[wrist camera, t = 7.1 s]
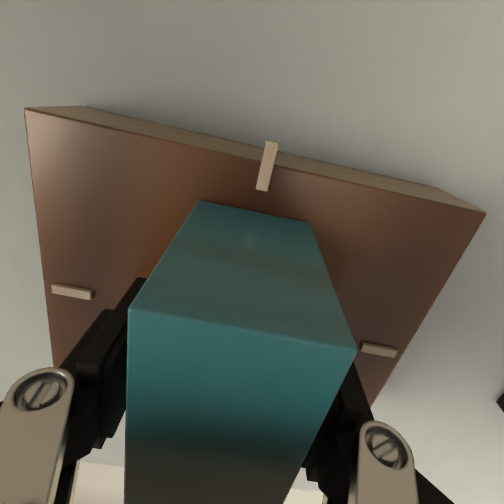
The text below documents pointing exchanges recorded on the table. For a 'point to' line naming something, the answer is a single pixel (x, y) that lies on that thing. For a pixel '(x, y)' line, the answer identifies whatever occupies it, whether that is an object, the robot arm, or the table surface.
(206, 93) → the table surface
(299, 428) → the teal rectangular block
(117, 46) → the table surface
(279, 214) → the base
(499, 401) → the button box
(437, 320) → the table surface
